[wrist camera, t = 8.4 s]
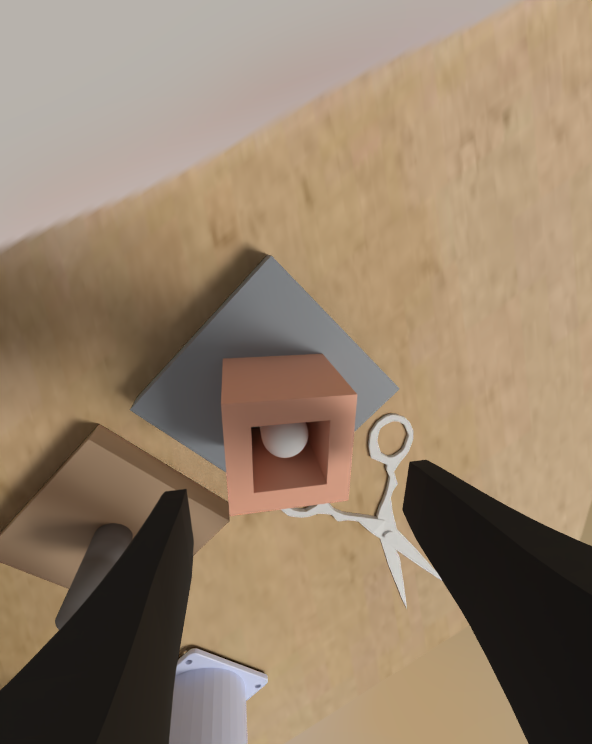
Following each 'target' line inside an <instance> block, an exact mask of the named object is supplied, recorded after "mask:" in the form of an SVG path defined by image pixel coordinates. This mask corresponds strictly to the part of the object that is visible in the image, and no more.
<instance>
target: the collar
mask: <svg viewBox="0 0 592 744" xmlns="http://www.w3.org/2000/svg"><path fill="white" fill-rule="evenodd" d="M356 405H357V393H356V392H355V391H354V390H353V389H352V388H351V386H350V385H349V384H348V383H347V382H346V380H345V379H344V378H343V377H342V376H341V375H340V373H339V372H338V371H337V370H336V369H335V368H334V366H333V365H332V364H331V363H330V362H329V361H328V359H327V358H326V357H325V356H324V355H323V354H306V355H286V356H265V357H245V358H225V359H223V367H222V392H221V411H222V424H223V437H224V450H225V462H226V475H227V488H228V501H229V514H230V516H235V515H242V514H250V513H257V512H265V511H272V510H280V509H288V508H295V507H303V506H310V505H318V504H326V503H333V502H341V501H348V499H349V487H350V476H351V464H352V452H353V440H354V428H355V417H356ZM303 422H306V425H307V428H308V440H307V443H306V445H305V447H304V448H303V450H302V451H301V452H299V453H298V454H297V455H295V456H293V457H289V458H281V457H277V456H275V455H273V454H271V453H270V452H269V451H268V450H267V449H266V447H265V446H264V444H263V441H262V437H261V431H260V428H251V427H257V426H268V425H280V424H292V423H303Z"/></svg>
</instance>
